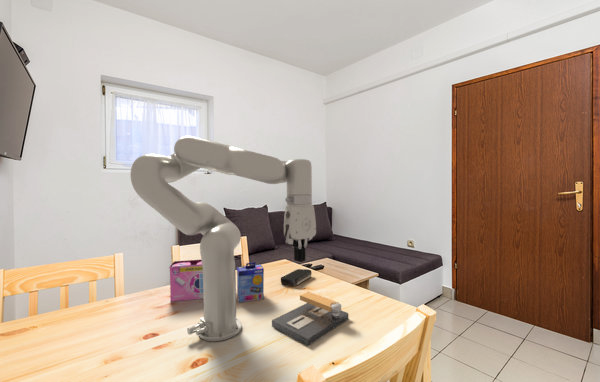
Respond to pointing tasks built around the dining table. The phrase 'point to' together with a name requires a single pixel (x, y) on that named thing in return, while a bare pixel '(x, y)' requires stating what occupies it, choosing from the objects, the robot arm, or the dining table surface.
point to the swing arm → (321, 302)
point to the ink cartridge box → (250, 282)
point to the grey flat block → (308, 323)
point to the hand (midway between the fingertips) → (299, 260)
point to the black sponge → (296, 277)
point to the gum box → (186, 280)
